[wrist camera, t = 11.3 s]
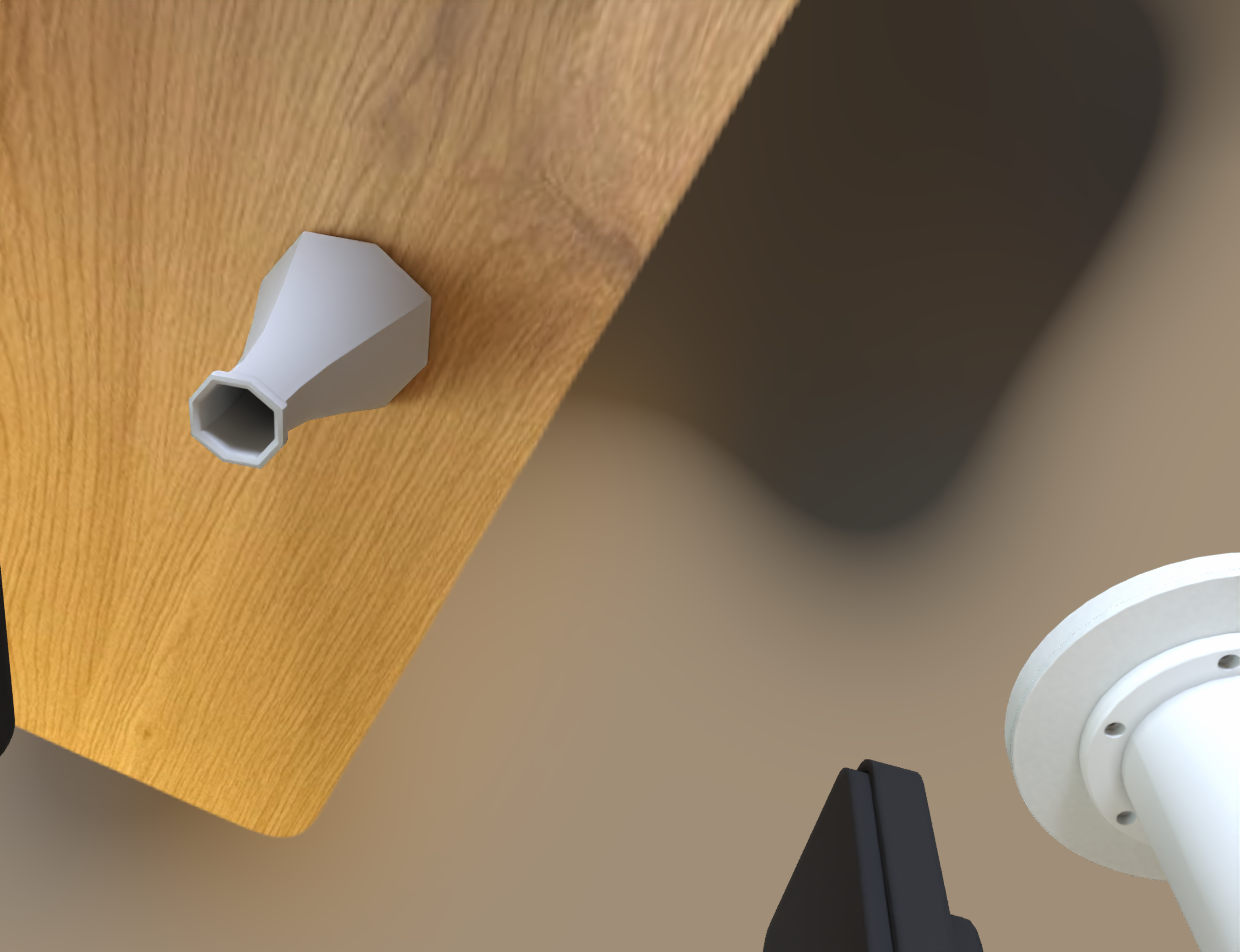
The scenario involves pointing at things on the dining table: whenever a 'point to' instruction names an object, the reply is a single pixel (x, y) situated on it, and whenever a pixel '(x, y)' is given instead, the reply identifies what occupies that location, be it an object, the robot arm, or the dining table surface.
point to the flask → (315, 348)
